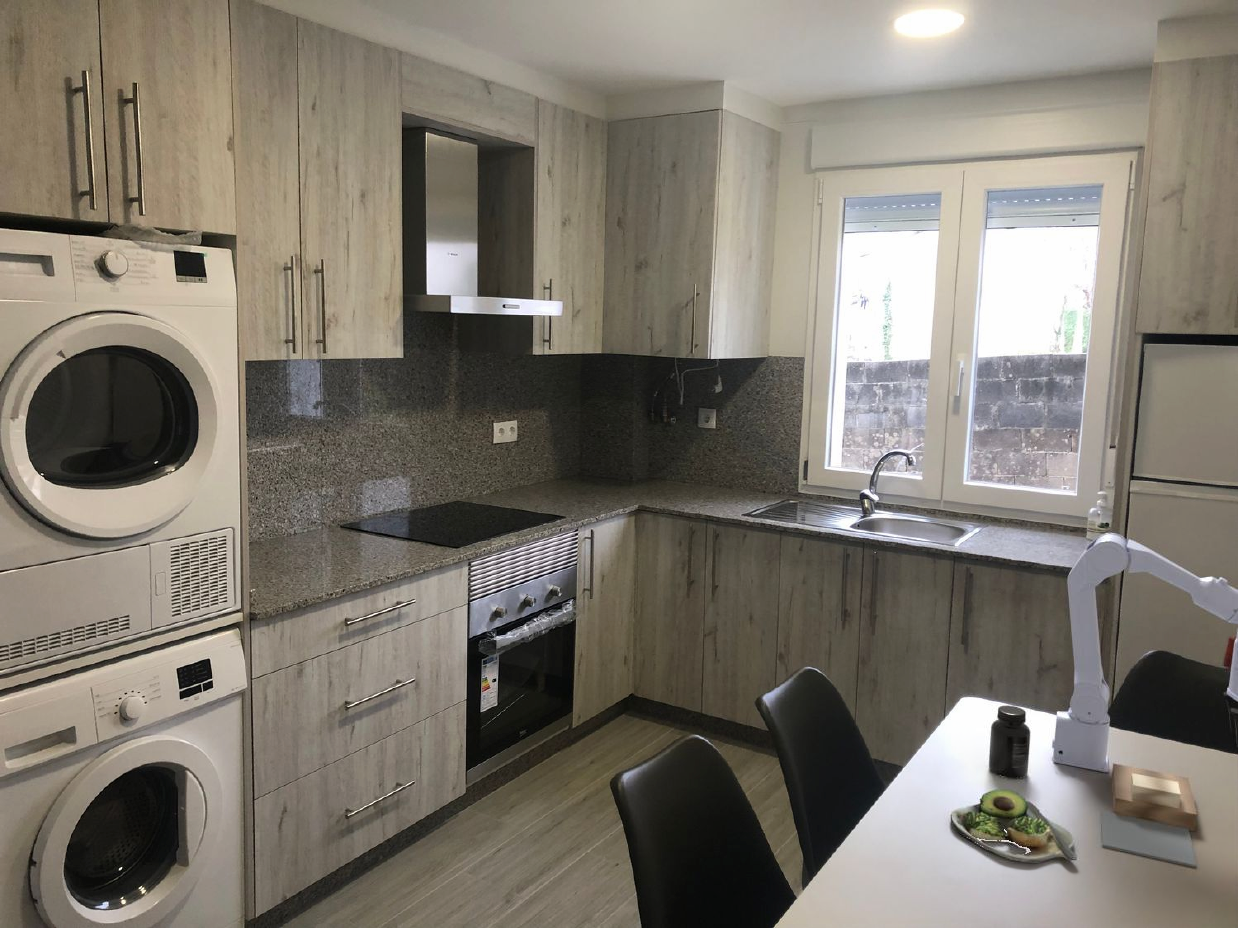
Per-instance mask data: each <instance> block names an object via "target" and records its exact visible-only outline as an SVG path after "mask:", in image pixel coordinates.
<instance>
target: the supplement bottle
mask: <svg viewBox="0 0 1238 928" xmlns="http://www.w3.org/2000/svg"><path fill="white" fill-rule="evenodd" d="M1026 713H1027V712H1026V710H1024V709H1023V708H1021V707H1019V706H1014V705H1013V706H1012V705H1001V706H999V707H998V708H997V713H996V714H997V715H996V716H997V717H996V720H994V721H993V722H992V723H991V727H990V737H989V738H990V739H989V757H988V768H989V770H990V771H991V772H992V771H993V772H994V774H995V773H996V774H995V775H997V776H999V775H1001V776H1000V777H1002V776H1003V777H1002V778H1006V777H1007V779H1014V780H1015V779H1022V778H1024V777H1026V776H1027V774H1028V771H1029V759H1030V746H1031V745H1030V744H1031V729H1030V728H1029V726H1028V725H1027V724H1026V722H1027V717H1026V715H1027V714H1026ZM993 772H992V773H993Z"/></svg>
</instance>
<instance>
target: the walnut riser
mask: <svg viewBox="0 0 1238 928" xmlns="http://www.w3.org/2000/svg"><path fill="white" fill-rule="evenodd" d="M1111 770H1112V772H1111V789H1112V790H1111V791H1112V805H1113V806H1112V807H1113V813H1116V814H1121V815H1125V816H1130V817H1135V818H1140V819H1144V820H1149V821H1154V822H1159V823H1163V824H1168V825H1173V826H1178V827H1182V828H1187V829H1189V832H1196V828H1197V819H1198V813H1197V812H1198V811H1197V809H1196V805H1195V800H1194V795H1193V792H1192V788H1191V783H1190V780H1189V777H1186V776H1182V775H1176V774H1170V773H1165V772H1161V771H1155V770H1148V769H1144V768H1140V767H1134V766H1129V765H1123V764H1120V763H1119V764H1118V763H1112V769H1111ZM1132 773H1134V774H1139V775H1144V776H1149V777H1154V778H1160V779H1165V780H1170V781H1175V782H1178V784H1179V789H1180V793H1181V796H1180V805H1179V808H1174V807H1169V806H1164V805H1159V804H1155V803H1150V802H1145V801H1140V800H1135V799H1132V796H1131V777H1132Z"/></svg>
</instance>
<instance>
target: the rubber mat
mask: <svg viewBox="0 0 1238 928" xmlns="http://www.w3.org/2000/svg"><path fill="white" fill-rule="evenodd" d="M1100 825H1101V829H1100V830H1101V847H1102V846H1103V848H1107V849H1111V850H1116V851H1121V852H1124V853H1129V854H1132V855H1133V854H1134V855H1137V856H1140V857H1141V856H1142V857H1147V858H1151V859H1154V860H1155V859H1156V860H1159V861H1165V862H1168V863H1173V864H1179V865H1182V866H1187V867H1192V868H1197V861H1196V856H1195V853H1194V847H1193V842H1192V839H1191V834H1190V831H1189V829H1187V828H1182V827H1178V826H1173V825H1168V824H1163V823H1159V822H1154V821H1149V820H1144V819H1140V818H1135V817H1130V816H1125V815H1121V814H1116V813H1114V812H1111V811H1105V810H1100Z"/></svg>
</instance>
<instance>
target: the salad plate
mask: <svg viewBox="0 0 1238 928" xmlns="http://www.w3.org/2000/svg"><path fill="white" fill-rule="evenodd" d="M1040 811H1041V810H1040V809H1039V808H1038V807H1037V806H1036V805H1035V804H1033V803H1032V802H1031V801H1028V800H1026V799H1025V797H1023V796H1022V794H1019V793H1018V792H1015V791H1013V790H1010V789H994V790H990V791H986V792H985V793H984V794H982V795H981V798H979V803H977V804H973V805H968V806H965V807H960V808H957V809H955V810H952V812H951V814H950V822H951V825H952V827H953V826H954V827H955V828H956V829H955V828H954V827H953V828H954V829H955V830H956V831H957V832H958V833H959V832H960V833H961V834H962V835H963V836H962V835H961V834H960V833H959V834H960V835H961V836H962V837H964V836H965V837H968V838H970V839H971V840H973V841H974V842H976V843H978V844H979V845H981V846H983V847H984V848H986V849H988V850H990V851H992V852H991V853H993V852H994V853H993V854H995V853H996V854H995V855H997V854H998V856H999V855H1000V856H999V857H1001V856H1002V857H1001V858H1003V857H1005V858H1004V859H1006V858H1008V859H1007V860H1009V859H1011V860H1010V861H1013V860H1016V861H1015V862H1017V861H1021V862H1020V863H1024V862H1030V863H1029V864H1038V863H1037V862H1040V863H1043V862H1042V861H1044V862H1046V861H1045V860H1047V861H1049V859H1050V860H1052V859H1053V858H1054V859H1058V858H1065V859H1067V860H1070V861H1077V860H1078V857H1077V855H1076V854H1075V852H1074V851H1073V850H1072V848H1073V847H1074V845H1075V842H1074V836H1073V833H1072V832H1071V831H1070V830H1069V829H1066V828H1065V827H1063V826H1062V825H1060V824H1058V823H1057V822H1054V821H1053V820H1050V819H1049V818H1047V817H1045V816H1044V815H1043V814H1042V813H1041V812H1040ZM1004 829H1005V830H1006V831H1007V833H1006V832H1005V831H1004ZM965 837H964V838H965ZM977 838H979V839H985V840H997V841H999V840H1000V841H1001V840H1009V841H1011V842H1015V843H1016V844H1018V845H1019V846H1022V847H1027V848H1029V849H1030V851H1031V852H1029V853H1027V854H1024V853H1023V854H1024V855H1022V854H1020V853H1019V854H1017V853H1015V852H1014V853H1013V852H1010V851H1006V850H1001V849H998V848H995V847H993V846H990V845H989V844H987V843H985V844H984V841H982V842H981V841H979V840H978V839H977ZM971 840H970V841H971ZM974 842H973V843H974ZM976 843H975V844H976ZM986 844H987V845H986ZM979 845H978V846H979ZM988 845H989V846H988ZM981 846H980V847H981ZM983 847H982V848H983ZM984 848H983V849H984ZM986 849H985V850H986ZM988 850H987V851H988ZM990 851H989V852H990ZM1035 862H1036V863H1035Z"/></svg>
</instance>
